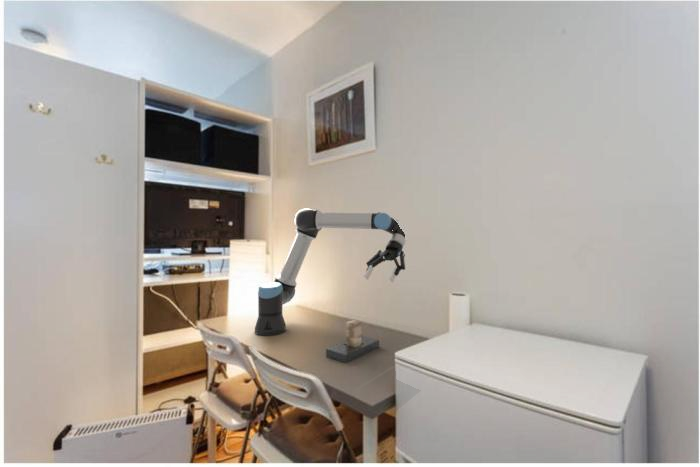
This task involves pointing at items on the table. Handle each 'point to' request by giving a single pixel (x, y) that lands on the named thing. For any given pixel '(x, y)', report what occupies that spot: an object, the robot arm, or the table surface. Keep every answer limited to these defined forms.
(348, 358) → the grey block with hole
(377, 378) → the table surface
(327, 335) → the table surface
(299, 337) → the table surface
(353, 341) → the peg
